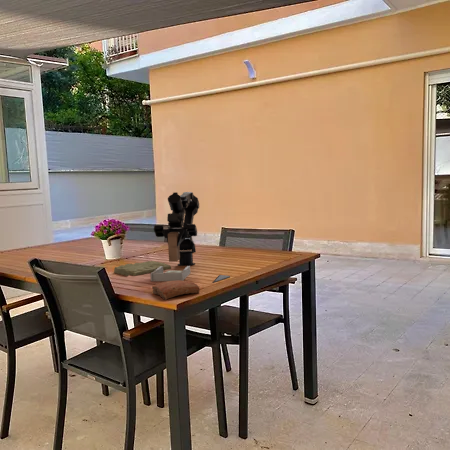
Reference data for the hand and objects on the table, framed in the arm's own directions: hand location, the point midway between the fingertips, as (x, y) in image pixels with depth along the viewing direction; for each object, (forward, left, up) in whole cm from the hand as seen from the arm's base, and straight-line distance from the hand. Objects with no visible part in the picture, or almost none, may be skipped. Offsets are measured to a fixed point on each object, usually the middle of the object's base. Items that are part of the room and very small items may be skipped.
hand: (173, 245), depth 191 cm
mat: (-4, +17, -13) cm, 22 cm away
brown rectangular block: (-1, -1, -7) cm, 7 cm away
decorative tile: (-1, -21, -14) cm, 26 cm away
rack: (+5, +2, -13) cm, 14 cm away
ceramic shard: (+21, +19, -14) cm, 32 cm away
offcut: (+1, +1, -13) cm, 13 cm away
